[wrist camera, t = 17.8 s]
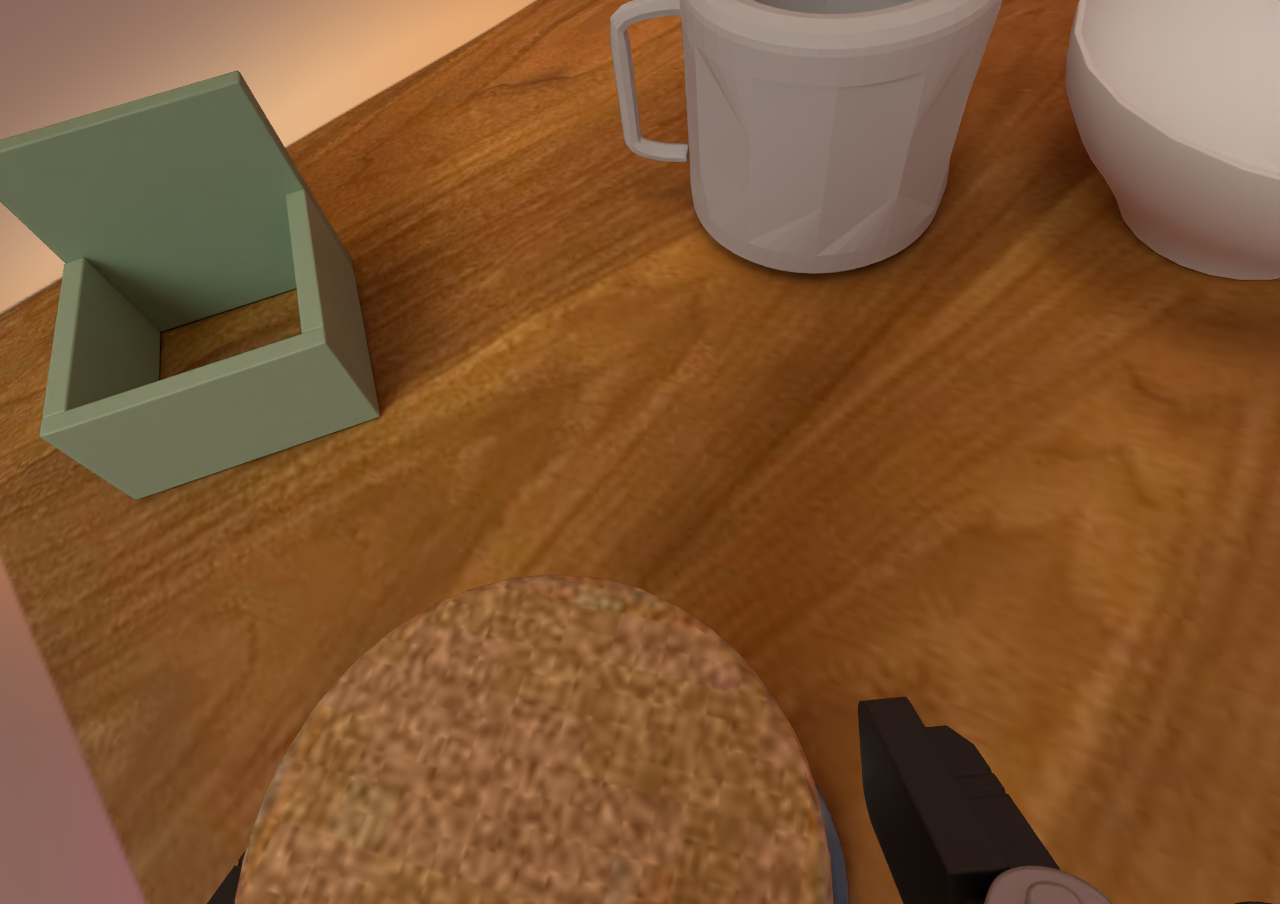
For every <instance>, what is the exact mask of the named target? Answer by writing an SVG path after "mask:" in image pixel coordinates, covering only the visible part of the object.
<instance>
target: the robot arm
mask: <svg viewBox="0 0 1280 904" xmlns="http://www.w3.org/2000/svg"><path fill="white" fill-rule="evenodd" d="M858 720H859V734H860V749H861V763H862V777H863V788H864V795H865V800H866V805H867V809H868V813H869V817H870V820H871V823H872V826H873V829H874V831H875V834H876V836H877V839H878V841H879V844H880V846H881V848H882V851H883V853H884V856H885V858H886V861H887V863H888V866H889V868H890V871H891V873H892V876H893V878H894V881H895V883H896V886H897V888H898V891H899V893H900V896H901V898H902V901H903V903H904V904H1112V903H1111V901H1110V900H1109V899H1108V898H1107V897H1106V896H1105V895H1103V894H1102V893H1101V892H1100V891H1099V890H1098V889H1096V888H1095V887H1093V886H1092V885H1090V884H1089V883H1087V882H1085V881H1084V880H1082V879H1080V878H1078V877H1076V876H1074V875H1071V874H1069V873H1066V872H1064V871H1061V870H1060V868H1059V867H1058V865H1057V864H1056V863H1055V861H1054V860H1053V858H1052V857H1051V855H1050V854H1049V852H1048V851H1047V850H1046V848H1045V847H1044V845H1043V844H1042V842H1041V841H1040V839H1039V838H1038V837H1037V835H1036V834H1035V832H1034V831H1033V829H1032V828H1031V826H1030V825H1029V824H1028V822H1027V821H1026V819H1025V818H1024V816H1023V815H1022V813H1021V812H1020V811H1019V809H1018V808H1017V806H1016V805H1015V803H1014V802H1013V800H1012V799H1011V797H1010V796H1009V795H1008V794H1006V793H1005V790H1004V787H1003V786H1002V784H1001V783H1000V782H999V780H998V779H997V777H996V776H995V774H994V773H993V774H992V773H991V769H990V767H989V766H988V764H987V763H986V761H985V760H984V758H983V757H982V756H981V754H980V753H979V751H978V750H977V748H976V747H975V745H974V744H972V743H971V742H969V741H968V740H967V739H965V738H964V737H962V736H961V735H959V734H958V733H957V732H955V731H954V730H952V729H951V728H949V727H948V726H936V727H925V726H924V724H923V723H922V721H921V719H920V718H919V716H918V714H917V713H916V711H915V709H914V708H913V706H912V704H911V703H910V701H909V700H908V699H907V698H906V697H896V698H886V699H877V700H867V701H860V702H859V704H858ZM245 852H246V851H245ZM245 852H244V853H243V855H242V856H241V858H240V859H239V864H238V866H234V867H233V869H232V870H231V871H230V873H229V874H228V875H227V877H226V878H225V880H224V881H223V882H222V884H221V885H220V887H219V888H218V889H217V891H216V892H215V893H214V895H213V896H212V898H211V899H210V900H209V902H208V903H207V904H235V898H236V893H237V888H238V883H239V878H240V873H241V868H242V863H243V859H244V855H245ZM1235 904H1271V903H1264V902H1240V903H1235Z"/></svg>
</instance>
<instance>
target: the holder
mask: <svg viewBox="0 0 1280 904" xmlns="http://www.w3.org/2000/svg"><path fill="white" fill-rule="evenodd" d="M0 202H1V203H2V204H3V205H4V206H6V207H7V208H8V209H9V210H10V211H11V212H12V213H13V214H14V215H15V216H16V217H17V218H18V219H19V220H20V221H21V222H22V223H23V224H25V225H26V226H27V227H28V228H29V229H30V230H31V231H32V232H33V233H34V234H35V235H36V236H37V237H38V238H39V239H40V240H41V241H43V242H44V243H45V244H46V245H47V246H48V247H49V248H50V249H51V250H52V251H53V252H54V253H55V254H56V255H57V256H58V257H60V259H61V260H62V261H64V262H65V264H64V270H63V277H62V284H61V291H60V298H59V305H58V312H57V319H56V326H55V333H54V340H53V346H52V353H51V360H50V367H49V374H48V381H47V388H46V395H45V402H44V409H43V416H42V417H43V419H42V422H41V429H40V437H41V438H42V439H44V440H45V441H47V442H48V443H50V444H51V445H53V446H54V447H56V448H57V449H59V450H60V451H62V452H63V453H65V454H66V455H68V456H69V457H71V458H72V459H74V460H75V461H77V462H78V463H80V464H81V465H83V466H84V467H86V468H87V469H89V470H91V471H92V472H94V473H95V474H97V475H98V476H100V477H101V478H103V479H104V480H106V481H107V482H109V483H110V484H112V485H113V486H115V487H116V488H118V489H119V490H121V491H122V492H124V493H125V494H127V495H128V496H130V497H131V498H133V499H134V500H138V499H141V498H144V497H147V496H150V495H152V494H155V493H158V492H161V491H164V490H167V489H170V488H173V487H176V486H179V485H182V484H185V483H188V482H190V481H193V480H196V479H199V478H202V477H205V476H208V475H211V474H214V473H217V472H220V471H223V470H226V469H229V468H231V467H234V466H237V465H240V464H243V463H246V462H249V461H252V460H255V459H258V458H261V457H264V456H267V455H269V454H272V453H275V452H278V451H281V450H284V449H287V448H290V447H293V446H296V445H299V444H302V443H305V442H307V441H310V440H313V439H316V438H319V437H322V436H325V435H328V434H331V433H334V432H337V431H340V430H343V429H345V428H348V427H351V426H354V425H357V424H360V423H363V422H366V421H369V420H372V419H375V418H378V417H380V411H379V406H378V402H377V394H376V389H375V383H374V378H373V373H372V367H371V362H370V356H369V351H368V345H367V340H366V335H365V329H364V324H363V318H362V313H361V307H360V302H359V297H358V291H357V286H356V280H355V275H354V270H353V265H352V260H351V258H350V256H349V254H348V253H347V251H346V249H345V248H344V246H343V244H342V243H341V241H340V239H339V238H338V236H337V234H336V232H335V231H334V229H333V227H332V226H331V224H330V222H329V221H328V219H327V217H326V216H325V214H324V212H323V211H322V209H321V207H320V206H319V204H318V202H317V201H316V199H315V197H314V196H313V194H312V192H311V191H310V189H309V187H308V186H307V184H306V182H305V181H304V179H303V177H302V176H301V174H300V172H299V171H298V169H297V167H296V166H295V164H294V162H293V161H292V159H291V157H290V156H289V154H288V152H287V151H286V149H285V147H284V146H283V144H282V142H281V141H280V139H279V137H278V135H277V134H276V132H275V130H274V129H273V127H272V125H271V124H270V122H269V120H268V119H267V118H266V115H265V114H264V112H263V110H262V109H261V107H260V105H259V104H258V102H257V100H256V99H255V97H254V95H253V94H252V92H251V90H250V89H249V87H248V85H247V84H246V82H245V80H244V79H243V77H242V75H241V74H240V72H239V71H234V72H231V73H228V74H224V75H221V76H217V77H214V78H211V79H207V80H203V81H200V82H196V83H193V84H190V85H186V86H183V87H179V88H176V89H173V90H169V91H166V92H162V93H159V94H155V95H152V96H149V97H145V98H142V99H138V100H135V101H132V102H128V103H125V104H121V105H118V106H115V107H111V108H108V109H104V110H101V111H97V112H94V113H91V114H87V115H84V116H80V117H77V118H73V119H70V120H67V121H63V122H60V123H57V124H53V125H50V126H46V127H43V128H39V129H36V130H33V131H29V132H26V133H23V134H19V135H15V136H12V137H9V138H5V139H2V140H0ZM296 288H297V296H298V305H299V313H300V322H301V331H302V334H300V335H297V336H294V337H291V338H287V339H284V340H281V341H278V342H275V343H272V344H269V345H266V346H263V347H260V348H257V349H254V350H251V351H248V352H245V353H242V354H239V355H236V356H233V357H230V358H227V359H224V360H220V361H217V362H214V363H211V364H208V365H205V366H202V367H199V368H196V369H193V370H190V371H187V372H184V373H181V374H178V375H175V376H172V377H169V378H166V379H163V380H160V381H159V362H160V332H162V331H165V330H168V329H172V328H175V327H178V326H181V325H184V324H187V323H190V322H193V321H196V320H199V319H203V318H206V317H209V316H212V315H215V314H218V313H221V312H224V311H227V310H230V309H234V308H237V307H240V306H243V305H246V304H249V303H252V302H255V301H258V300H262V299H265V298H268V297H271V296H274V295H277V294H280V293H283V292H286V291H289V290H293V289H296Z"/></svg>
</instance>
